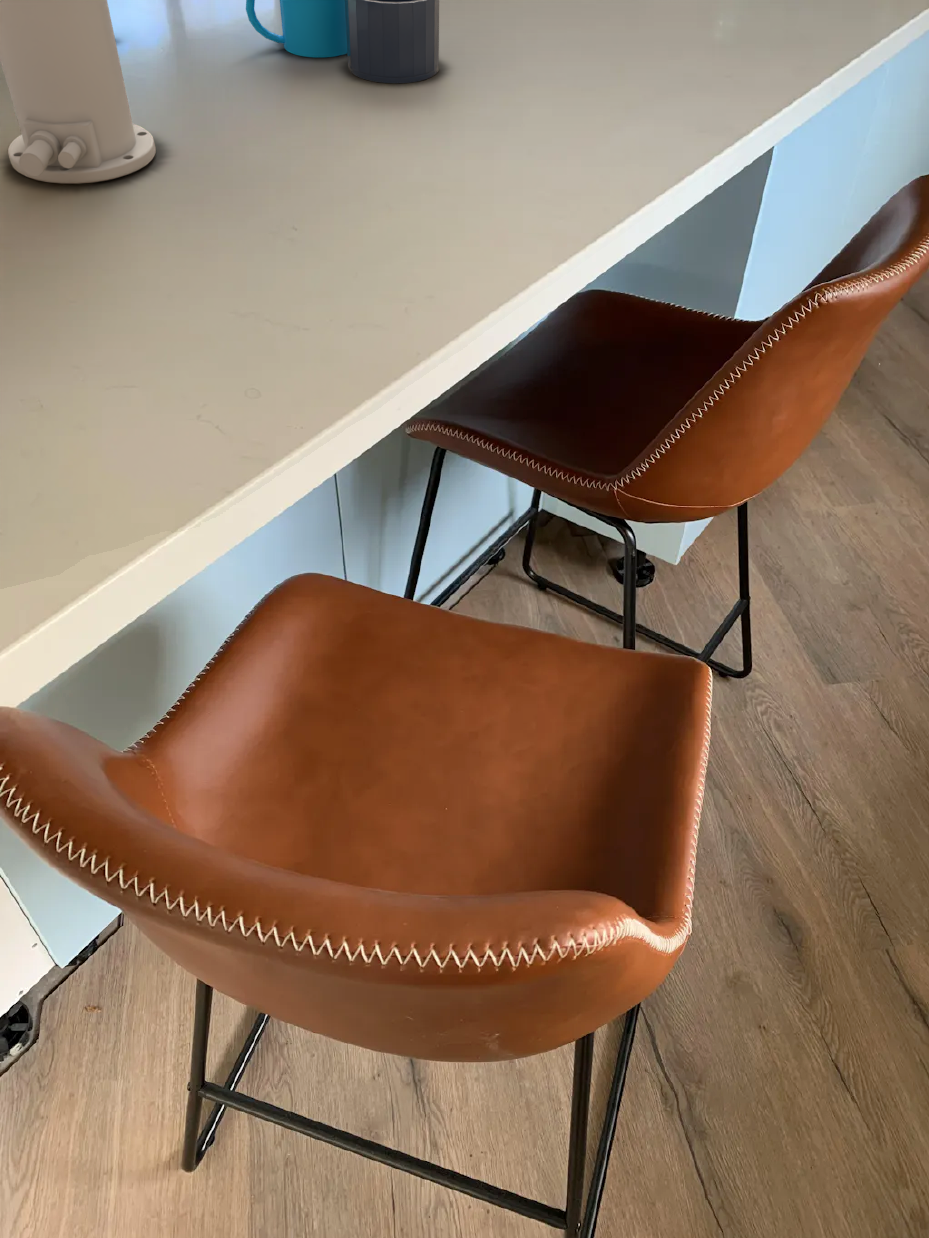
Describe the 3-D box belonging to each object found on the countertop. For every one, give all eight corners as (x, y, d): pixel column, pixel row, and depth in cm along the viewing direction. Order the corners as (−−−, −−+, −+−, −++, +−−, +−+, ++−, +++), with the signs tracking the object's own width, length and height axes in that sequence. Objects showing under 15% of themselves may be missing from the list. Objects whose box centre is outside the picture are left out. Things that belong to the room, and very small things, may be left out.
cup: (438, 85, 103) (439, 4, 97) (345, 82, 102) (340, 1, 97) (438, 55, 110) (439, -22, 104) (351, 52, 109) (347, -25, 104)
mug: (347, 33, 114) (343, -48, 108) (361, 55, 109) (357, -29, 103) (246, 38, 111) (236, -45, 105) (254, 61, 106) (244, -25, 100)
